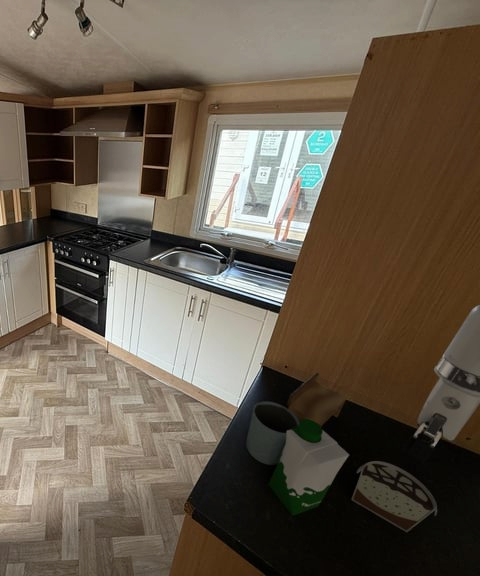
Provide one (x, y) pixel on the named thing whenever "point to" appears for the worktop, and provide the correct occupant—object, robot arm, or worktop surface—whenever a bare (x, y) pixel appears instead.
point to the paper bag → (315, 402)
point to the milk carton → (306, 467)
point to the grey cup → (269, 431)
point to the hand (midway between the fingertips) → (420, 442)
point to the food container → (393, 495)
